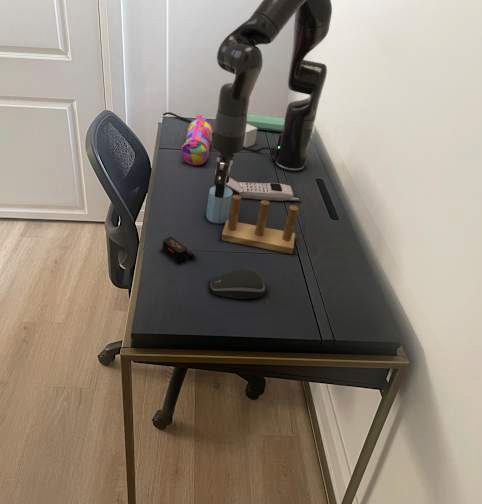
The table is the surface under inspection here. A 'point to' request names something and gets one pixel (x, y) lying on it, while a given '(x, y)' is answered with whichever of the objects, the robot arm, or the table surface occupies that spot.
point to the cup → (219, 206)
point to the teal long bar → (266, 122)
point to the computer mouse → (238, 285)
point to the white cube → (250, 135)
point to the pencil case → (197, 141)
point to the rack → (260, 229)
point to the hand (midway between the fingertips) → (221, 189)
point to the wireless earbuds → (176, 250)
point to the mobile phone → (262, 190)
